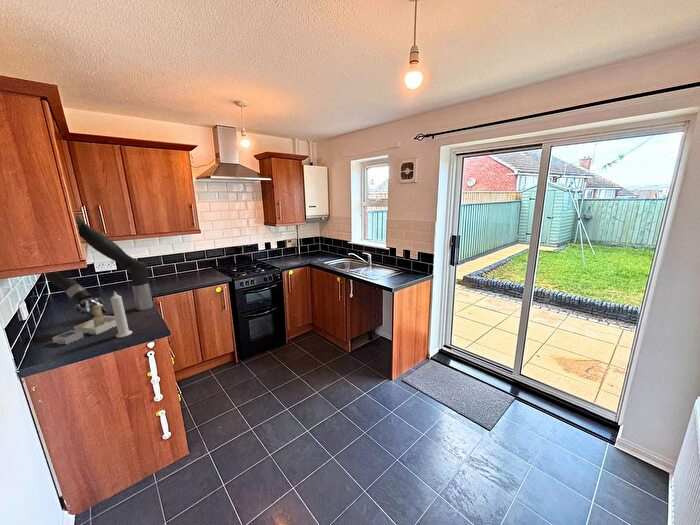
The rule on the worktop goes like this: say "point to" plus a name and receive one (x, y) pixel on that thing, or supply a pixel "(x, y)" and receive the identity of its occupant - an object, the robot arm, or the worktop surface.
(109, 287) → the worktop surface
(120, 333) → the candle
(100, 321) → the peg
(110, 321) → the tray
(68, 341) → the collar
